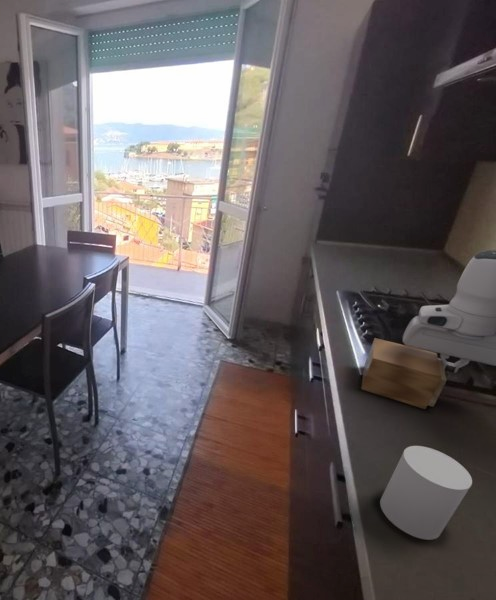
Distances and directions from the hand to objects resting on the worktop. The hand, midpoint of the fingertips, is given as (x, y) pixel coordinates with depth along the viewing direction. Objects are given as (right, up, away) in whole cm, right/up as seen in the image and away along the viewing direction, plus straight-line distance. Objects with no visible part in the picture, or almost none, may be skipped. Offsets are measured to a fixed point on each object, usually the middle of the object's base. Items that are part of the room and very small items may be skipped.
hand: (448, 370), depth 86 cm
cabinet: (-9, -5, +5) cm, 12 cm away
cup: (-32, -20, -25) cm, 45 cm away
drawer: (-7, -5, +4) cm, 10 cm away
